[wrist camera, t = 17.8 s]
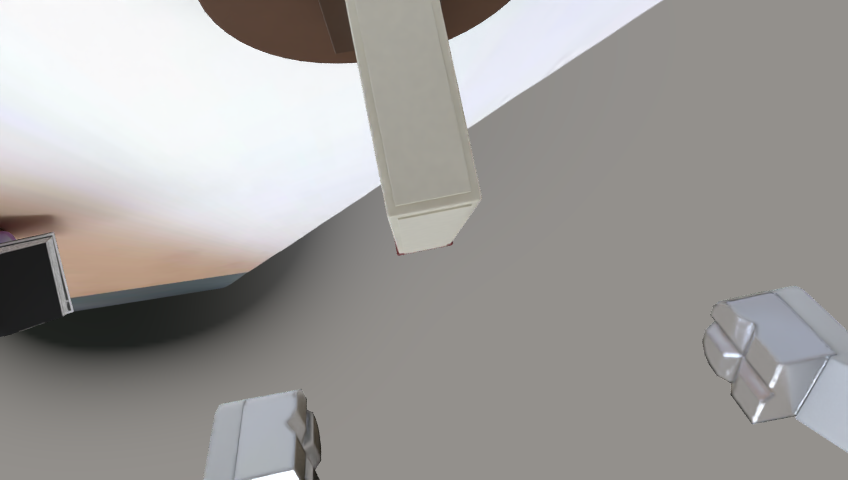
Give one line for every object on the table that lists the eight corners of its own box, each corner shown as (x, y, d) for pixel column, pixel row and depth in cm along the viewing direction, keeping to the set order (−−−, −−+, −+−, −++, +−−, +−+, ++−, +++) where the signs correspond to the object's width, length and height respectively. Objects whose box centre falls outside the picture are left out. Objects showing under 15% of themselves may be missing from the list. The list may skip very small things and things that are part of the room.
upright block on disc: (97, -153, 16) (158, 259, 15) (602, -234, 17) (703, 152, 15) (254, 70, 32) (290, 278, 31) (510, 24, 33) (556, 226, 31)
